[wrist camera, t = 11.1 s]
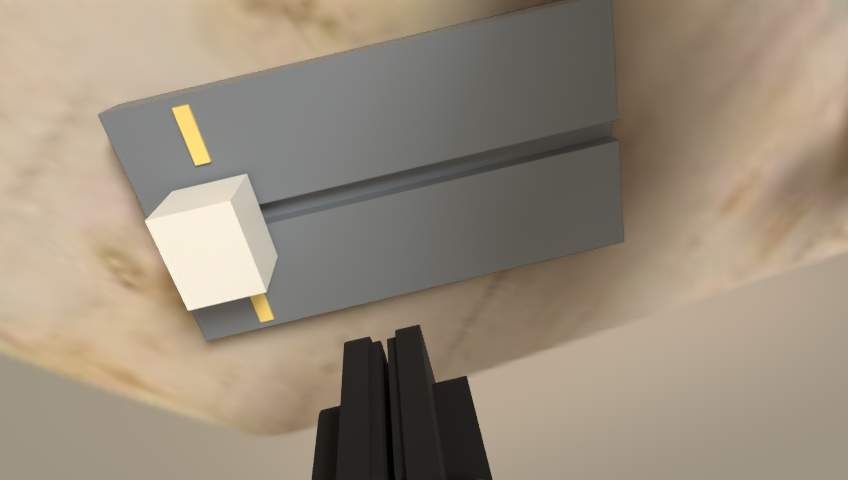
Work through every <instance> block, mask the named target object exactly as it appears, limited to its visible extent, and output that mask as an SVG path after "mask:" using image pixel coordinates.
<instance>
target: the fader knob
mask: <svg viewBox="0 0 848 480" xmlns="http://www.w3.org/2000/svg"><path fill="white" fill-rule="evenodd" d="M145 222H146V225H147V227H148V229H149V231H150V233H151V235H152V237H153V239H154V241H155V243H156V245H157V247H158V249H159V252H160V254H161V256H162V258H163V260H164V262H165V264H166V266H167V268H168V270H169V272H170V274H171V276H172V279H173V281H174V283H175V285H176V287H177V289H178V291H179V293H180V295H181V297H182V299H183V301H184V303H185V305H186V308H187V310H188V311H189V310H194V309H198V308H202V307H206V306H210V305H215V304H219V303H223V302H227V301H232V300H236V299H240V298H244V297H248V296H253V295H257V294H261V293H265V292H267V289H268V286H269V283H270V279H271V276H272V273H273V270H274V267H275V263H276V260H277V257H278V255H277V253H276V250H275V247H274V245H273V242H272V239H271V237H270V234H269V231H268V229H267V226H266V223H265V221H264V218H263V215H262V213H261V210H260V207H259V205H258V202H257V199H256V197H255V194H254V191H253V189H252V186H251V183H250V181H249V178H248V175H247V174H243V175H239V176H235V177H230V178H226V179H222V180H218V181H213V182H209V183H205V184H201V185H196V186H192V187H188V188H184V189H180V190H175V191H172V192H171V193H170V194H169V195H168V196H167V198H166V199H165V200H164V201H163V202H162V203H161V204H160V205H159V206H158V207H157V208H156V209H155V210H154V212H153V213H152V214H151V215H150V216H149V217H148V218H147V219H146V220H145Z"/></svg>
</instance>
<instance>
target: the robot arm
mask: <svg viewBox="0 0 848 480" xmlns="http://www.w3.org/2000/svg"><path fill="white" fill-rule="evenodd" d="M387 347H388V362H387V359H386V355H385V352H384V349H383V346H382V343H381V341H377V342H373V343H372V340H371V338H370V337H365V338H361V339H357V340H353V341H348V342H345V344H344V356H343V372H342V388H341V404H340V406H337V407H333V408H329V409H324V410H321V412H320V414H319V419H318V427H317V437H316V445H315V446H316V447H315V455H314V464H313V473H312V480H492V476H491V472H490V468H489V464H488V460H487V456H486V452H485V448H484V444H483V440H482V436H481V432H480V428H479V424H478V420H477V416H476V412H475V408H474V404H473V400H472V396H471V392H470V388H469V384H468V380H467V376H464V377H460V378H455V379H451V380H447V381H443V382H438V383H435V379H434V375H433V372H432V368H431V364H430V361H429V357H428V353H427V350H426V346H425V342H424V338H423V335H422V331H421V328H420V325H416V326H411V327H407V328H403V329H399V330H396V331H395V337H394V338H390V339H387Z"/></svg>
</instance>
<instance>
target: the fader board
mask: <svg viewBox="0 0 848 480" xmlns="http://www.w3.org/2000/svg"><path fill="white" fill-rule="evenodd" d="M98 117H99V119H100V121H101V123H102V125H103V127H104V129H105V131H106V133H107V136H108V138H109V140H110V142H111V144H112V146H113V148H114V150H115V152H116V154H117V156H118V158H119V161H120V163H121V165H122V167H123V169H124V171H125V173H126V175H127V177H128V179H129V181H130V184H131V186H132V188H133V190H134V192H135V194H136V196H137V198H138V200H139V202H140V204H141V207H142V209H143V211H144V213H145V215H146V217H147V218H148V217H149V216H150V215H151V214H152V213H153V212H154V210H155V209H156V208H157V207H158V206H159V205H160V204H161V203H162V202H163V201H164V200H165V199H166V198H167V196H168V195H169V194H170V193H171V192H172V191H175V190H180V189H184V188H188V187H192V186H196V185H201V184H205V183H209V182H213V181H218V180H222V179H226V178H230V177H235V176H239V175H243V174H247V175H248V178H249V181H250V183H251V186H252V189H253V191H254V194H255V197H256V199H257V202H258V205H259V207H260V210H261V213H262V215H263V218H264V221H265V223H266V226H267V229H268V231H269V234H270V237H271V239H272V242H273V245H274V247H275V250H276V253H277V255H278V257H277V260H276V263H275V267H274V270H273V273H272V276H271V279H270V283H269V286H268V289H267V292H265V293H261V294H257V295H253V296H248V297H244V298H240V299H236V300H232V301H227V302H223V303H219V304H215V305H210V306H206V307H202V308H198V309H194V310H191V311H192V313H193V315H194V317H195V319H196V321H197V323H198V326H199V328H200V330H201V332H202V334H203V336H204V338H205V340H206V341H209V340H213V339H217V338H221V337H226V336H230V335H234V334H238V333H243V332H247V331H251V330H255V329H259V328H264V327H268V326H272V325H276V324H280V323H285V322H289V321H293V320H297V319H301V318H306V317H310V316H314V315H318V314H322V313H327V312H331V311H335V310H339V309H344V308H348V307H352V306H356V305H360V304H365V303H369V302H373V301H377V300H381V299H386V298H390V297H394V296H398V295H402V294H407V293H411V292H415V291H419V290H423V289H428V288H432V287H436V286H440V285H445V284H449V283H453V282H457V281H461V280H466V279H470V278H474V277H478V276H482V275H487V274H491V273H495V272H499V271H503V270H508V269H512V268H516V267H520V266H524V265H529V264H533V263H537V262H541V261H545V260H550V259H554V258H558V257H562V256H567V255H571V254H575V253H579V252H583V251H588V250H592V249H596V248H600V247H604V246H609V245H613V244H617V243H621V242H624V230H623V211H622V192H621V173H620V154H619V141H618V140H617V139H615V138H613V137H612V136H611V123H610V121H614V120H618V116H617V97H616V78H615V59H614V40H613V21H612V2H611V0H560V1H556V2H552V3H547V4H543V5H539V6H535V7H530V8H526V9H522V10H518V11H513V12H509V13H505V14H501V15H496V16H492V17H488V18H484V19H479V20H475V21H471V22H467V23H463V24H458V25H454V26H450V27H446V28H441V29H437V30H433V31H429V32H424V33H420V34H416V35H412V36H407V37H403V38H399V39H395V40H390V41H386V42H382V43H378V44H373V45H369V46H365V47H361V48H356V49H352V50H348V51H344V52H340V53H335V54H331V55H327V56H323V57H318V58H314V59H310V60H306V61H301V62H297V63H293V64H289V65H284V66H280V67H276V68H272V69H267V70H263V71H259V72H255V73H250V74H246V75H242V76H238V77H233V78H229V79H225V80H221V81H216V82H212V83H208V84H204V85H200V86H195V87H191V88H187V89H183V90H178V91H174V92H170V93H166V94H161V95H157V96H153V97H149V98H144V99H140V100H136V101H132V102H127V103H123V104H119V105H116V106H114V107H112V108H110V109H108V110H106V111H104V112H102V113H100V114H98Z"/></svg>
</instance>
